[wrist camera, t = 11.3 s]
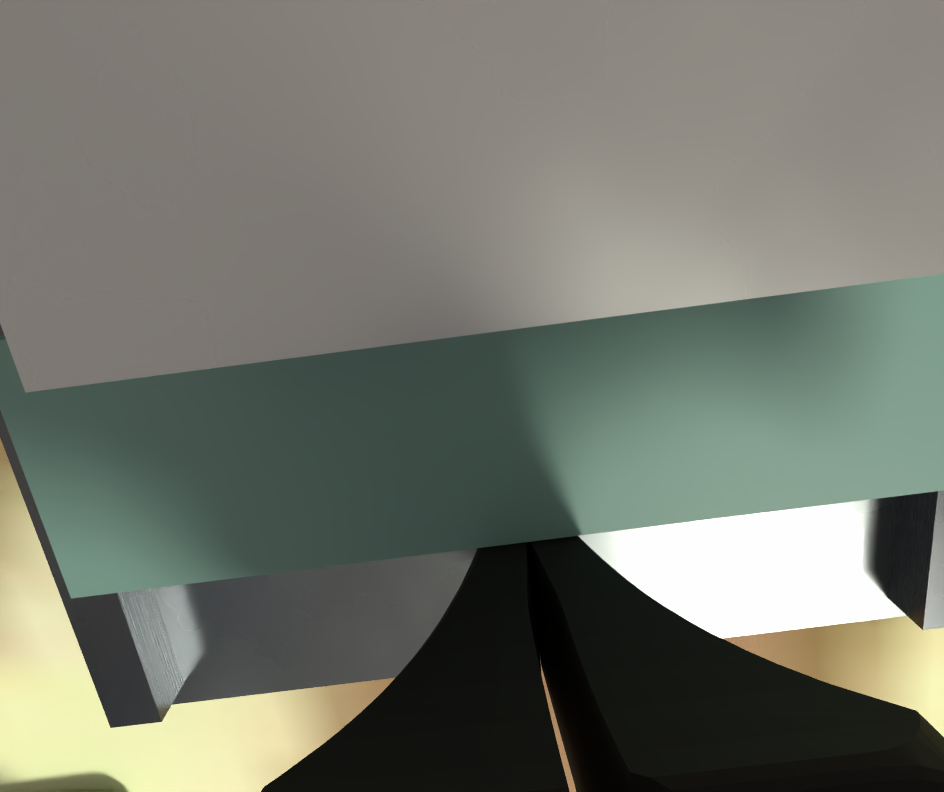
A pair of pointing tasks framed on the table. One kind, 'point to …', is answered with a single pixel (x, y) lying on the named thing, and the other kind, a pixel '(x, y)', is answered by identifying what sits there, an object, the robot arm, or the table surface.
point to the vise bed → (441, 574)
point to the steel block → (444, 168)
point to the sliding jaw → (487, 437)
